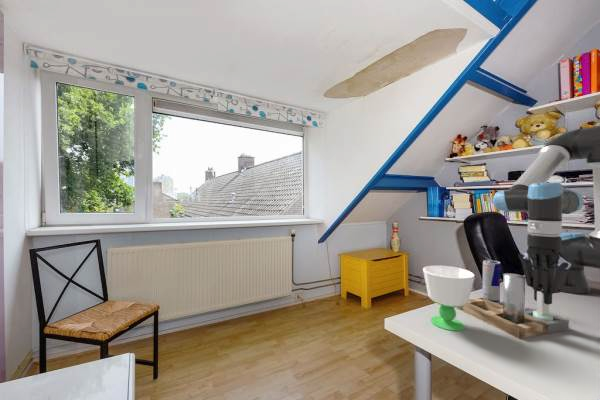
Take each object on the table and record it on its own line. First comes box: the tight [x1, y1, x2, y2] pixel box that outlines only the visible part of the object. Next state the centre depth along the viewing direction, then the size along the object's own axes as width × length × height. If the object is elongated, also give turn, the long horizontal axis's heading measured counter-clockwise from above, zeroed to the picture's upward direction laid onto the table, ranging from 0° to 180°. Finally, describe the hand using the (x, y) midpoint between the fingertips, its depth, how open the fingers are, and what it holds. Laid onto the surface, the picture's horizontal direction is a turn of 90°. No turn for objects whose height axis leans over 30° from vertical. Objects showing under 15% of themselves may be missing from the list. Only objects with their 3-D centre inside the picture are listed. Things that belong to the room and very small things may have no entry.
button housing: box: [525, 308, 570, 334], centre depth 79 cm, size 8×8×2 cm
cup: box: [422, 265, 476, 332], centre depth 80 cm, size 14×14×16 cm
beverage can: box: [481, 259, 501, 304], centre depth 96 cm, size 5×5×15 cm
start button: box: [533, 311, 553, 322], centre depth 79 cm, size 4×4×2 cm
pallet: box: [456, 297, 550, 340], centre depth 82 cm, size 11×20×2 cm, turn 15°
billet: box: [502, 272, 526, 324], centre depth 78 cm, size 5×5×15 cm
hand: (542, 313), depth 79 cm, fingers closed
